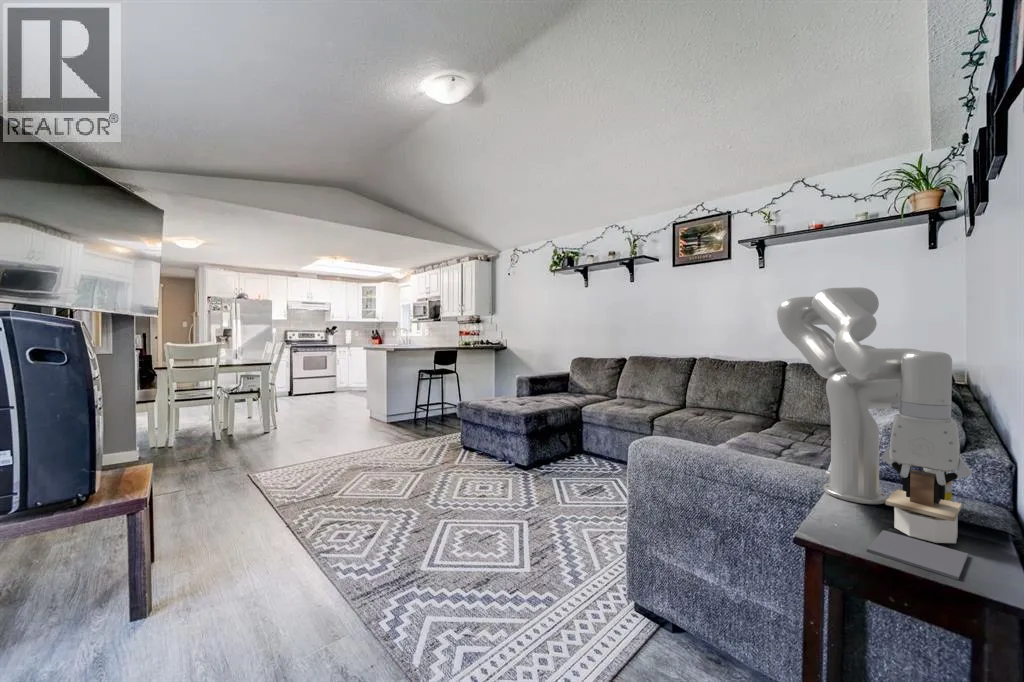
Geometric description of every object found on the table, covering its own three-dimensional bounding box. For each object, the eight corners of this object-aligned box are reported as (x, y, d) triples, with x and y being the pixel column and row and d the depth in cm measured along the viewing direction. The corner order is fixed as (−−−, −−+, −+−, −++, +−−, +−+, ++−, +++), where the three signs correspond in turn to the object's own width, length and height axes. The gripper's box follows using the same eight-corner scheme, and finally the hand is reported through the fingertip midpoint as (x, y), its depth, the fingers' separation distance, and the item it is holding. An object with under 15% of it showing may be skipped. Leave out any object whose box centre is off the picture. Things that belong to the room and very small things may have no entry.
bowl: (884, 521, 92) (884, 501, 92) (928, 522, 91) (928, 502, 91) (921, 542, 83) (921, 519, 83) (970, 543, 82) (970, 520, 82)
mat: (866, 551, 80) (866, 548, 80) (883, 532, 87) (883, 530, 87) (958, 580, 70) (958, 577, 70) (968, 556, 78) (968, 553, 78)
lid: (885, 504, 88) (885, 472, 88) (896, 492, 94) (897, 462, 94) (953, 521, 80) (954, 486, 80) (961, 507, 87) (962, 474, 86)
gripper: (868, 407, 91) (867, 491, 92) (982, 420, 78) (980, 518, 79) (877, 403, 96) (876, 483, 96) (987, 414, 82) (984, 507, 83)
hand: (923, 497), depth 87 cm, fingers closed on lid, 3 cm apart
